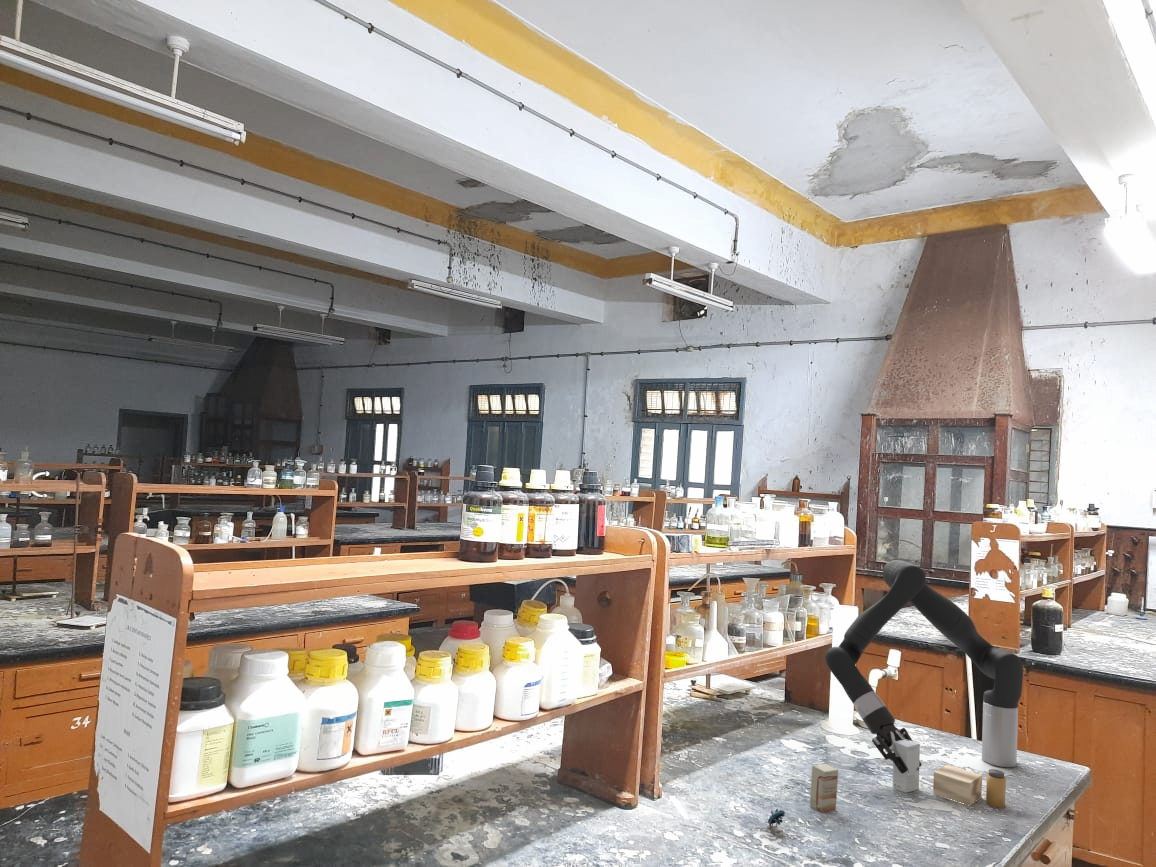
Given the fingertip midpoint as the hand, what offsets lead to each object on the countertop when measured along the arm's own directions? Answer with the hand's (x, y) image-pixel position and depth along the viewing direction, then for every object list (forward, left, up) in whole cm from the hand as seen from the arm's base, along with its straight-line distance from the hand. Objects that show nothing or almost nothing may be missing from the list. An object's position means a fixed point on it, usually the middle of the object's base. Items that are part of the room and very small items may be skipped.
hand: (912, 769), depth 205 cm
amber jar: (-12, +16, -6) cm, 21 cm away
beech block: (-8, +8, -6) cm, 13 cm away
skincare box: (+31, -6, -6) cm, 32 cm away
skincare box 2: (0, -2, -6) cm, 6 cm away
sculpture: (+52, -4, -6) cm, 53 cm away
